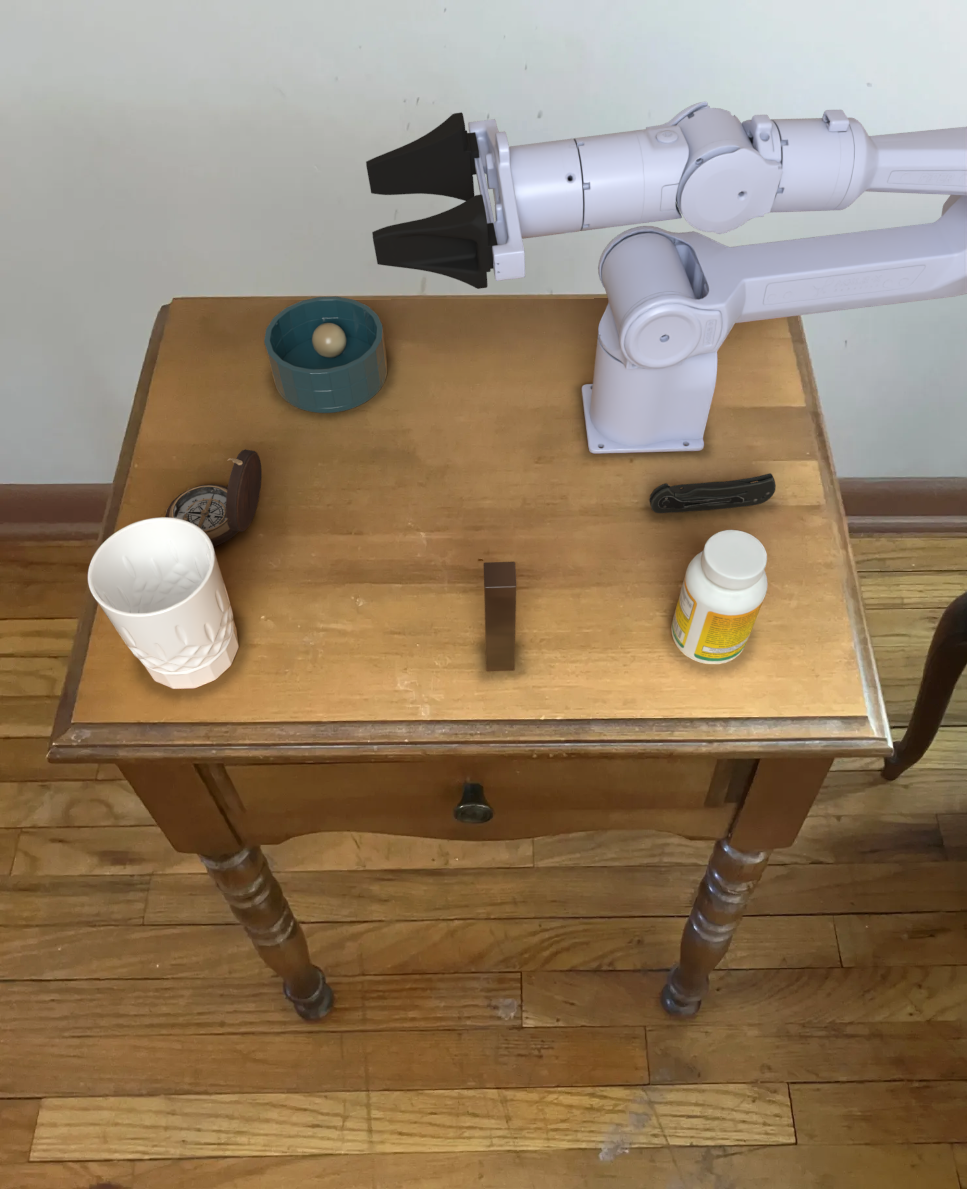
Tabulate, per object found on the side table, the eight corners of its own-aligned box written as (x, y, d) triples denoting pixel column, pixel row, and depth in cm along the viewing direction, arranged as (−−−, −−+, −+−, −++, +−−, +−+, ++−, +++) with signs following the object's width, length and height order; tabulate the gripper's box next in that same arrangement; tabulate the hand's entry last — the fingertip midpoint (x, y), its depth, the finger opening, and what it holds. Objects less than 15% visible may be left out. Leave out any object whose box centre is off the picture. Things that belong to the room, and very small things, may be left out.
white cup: (224, 706, 67) (186, 625, 59) (117, 687, 68) (65, 604, 60) (262, 613, 71) (232, 526, 63) (161, 597, 72) (119, 508, 64)
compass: (181, 487, 78) (155, 422, 73) (276, 498, 78) (257, 432, 72) (146, 565, 74) (116, 502, 68) (247, 577, 73) (225, 514, 67)
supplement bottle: (655, 637, 69) (675, 554, 62) (699, 592, 72) (724, 507, 64) (717, 681, 67) (746, 601, 59) (761, 633, 70) (794, 550, 62)
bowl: (389, 335, 89) (384, 294, 86) (385, 411, 83) (380, 371, 80) (280, 338, 89) (271, 297, 86) (268, 415, 83) (258, 374, 80)
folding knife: (767, 496, 77) (776, 470, 75) (772, 508, 76) (781, 482, 74) (646, 507, 77) (651, 481, 74) (650, 519, 76) (655, 494, 73)
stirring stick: (513, 646, 69) (515, 561, 61) (514, 671, 68) (516, 586, 60) (485, 647, 69) (483, 561, 61) (486, 671, 68) (484, 587, 60)
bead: (349, 342, 88) (345, 315, 85) (347, 364, 86) (342, 337, 84) (316, 343, 88) (310, 316, 85) (313, 365, 86) (308, 338, 84)
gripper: (558, 67, 65) (356, 92, 65) (597, 198, 57) (367, 228, 57) (557, 163, 71) (372, 187, 70) (593, 295, 63) (385, 322, 63)
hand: (371, 211), depth 64 cm, fingers open, 7 cm apart
